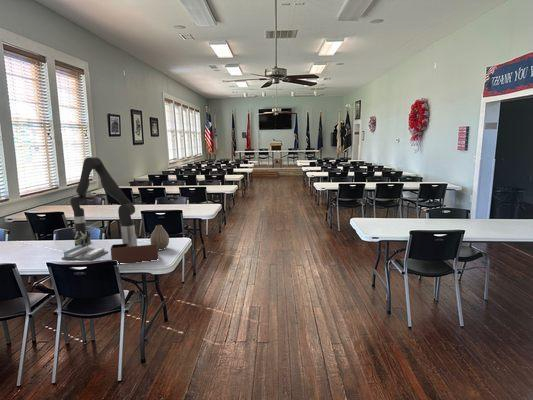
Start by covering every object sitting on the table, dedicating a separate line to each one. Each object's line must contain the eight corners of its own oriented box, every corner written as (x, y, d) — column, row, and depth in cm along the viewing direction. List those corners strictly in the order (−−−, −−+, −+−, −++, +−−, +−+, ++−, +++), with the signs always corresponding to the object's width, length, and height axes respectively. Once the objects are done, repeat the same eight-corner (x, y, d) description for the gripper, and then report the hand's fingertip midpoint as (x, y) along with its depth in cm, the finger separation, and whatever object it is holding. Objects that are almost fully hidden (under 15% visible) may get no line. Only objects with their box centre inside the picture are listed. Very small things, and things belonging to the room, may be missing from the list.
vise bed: (108, 252, 256) (107, 247, 255) (92, 260, 238) (91, 255, 238) (79, 251, 260) (79, 246, 259) (61, 259, 242) (61, 254, 242)
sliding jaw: (87, 250, 257) (86, 245, 257) (72, 257, 242) (71, 251, 241) (79, 250, 258) (79, 244, 258) (64, 257, 243) (63, 251, 242)
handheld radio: (91, 242, 286) (75, 251, 261) (87, 242, 286) (70, 251, 261) (90, 234, 285) (73, 242, 260) (86, 234, 285) (69, 242, 260)
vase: (158, 252, 253) (156, 228, 250) (147, 249, 261) (145, 226, 258) (173, 248, 263) (171, 225, 261) (162, 245, 271) (160, 223, 269)
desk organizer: (113, 260, 238) (111, 244, 236) (159, 256, 246) (158, 240, 244) (111, 265, 228) (109, 248, 226) (159, 260, 236) (157, 244, 234)
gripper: (91, 221, 273) (93, 242, 276) (74, 220, 275) (76, 241, 278) (85, 223, 266) (87, 244, 268) (67, 222, 268) (70, 244, 271)
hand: (81, 243), depth 273 cm, fingers open, 7 cm apart
